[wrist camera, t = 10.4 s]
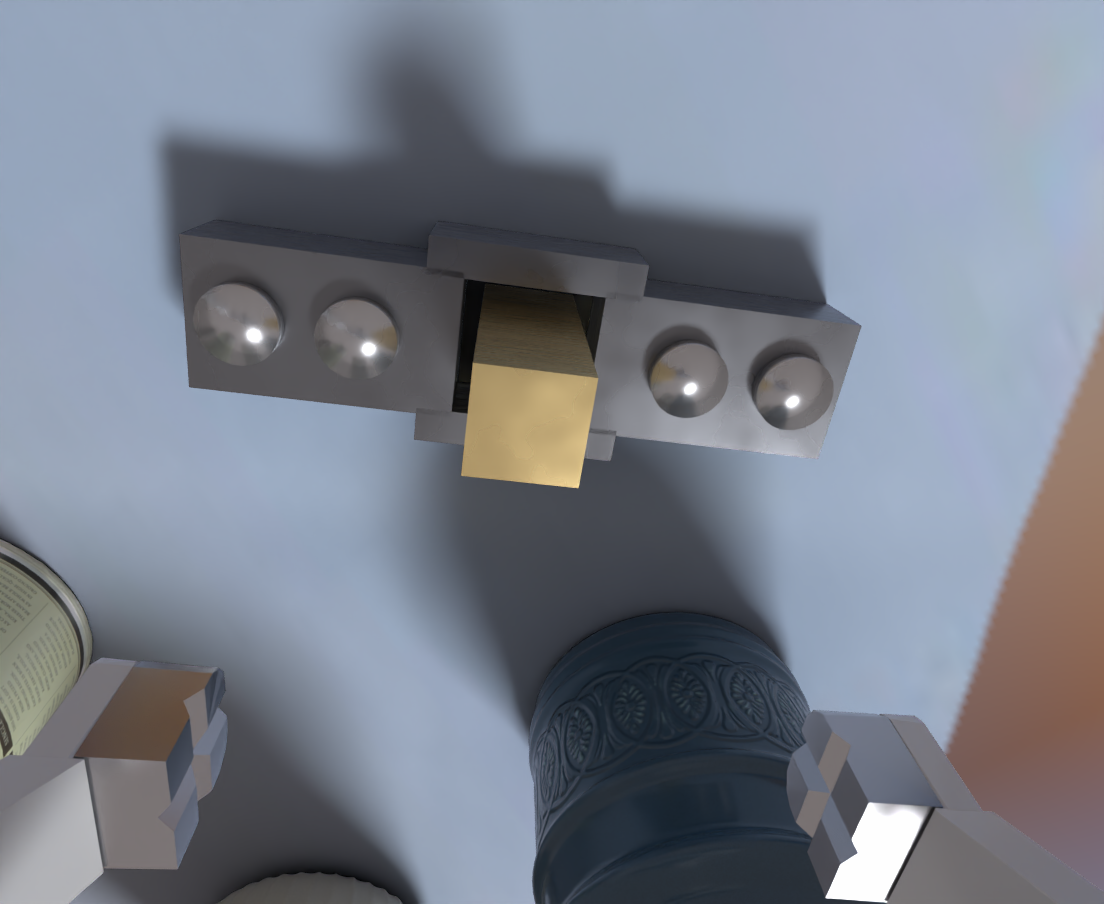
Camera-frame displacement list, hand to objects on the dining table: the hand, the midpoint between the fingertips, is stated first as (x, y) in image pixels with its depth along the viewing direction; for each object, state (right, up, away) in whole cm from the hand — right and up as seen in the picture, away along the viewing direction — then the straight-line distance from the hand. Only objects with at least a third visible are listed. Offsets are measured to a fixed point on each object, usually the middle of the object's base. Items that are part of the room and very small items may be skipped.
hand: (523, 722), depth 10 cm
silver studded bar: (-1, +8, +17) cm, 19 cm away
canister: (+6, -9, +26) cm, 28 cm away
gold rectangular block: (-1, +8, +17) cm, 19 cm away
